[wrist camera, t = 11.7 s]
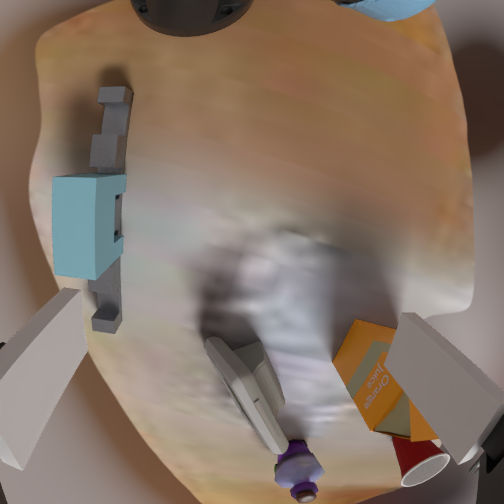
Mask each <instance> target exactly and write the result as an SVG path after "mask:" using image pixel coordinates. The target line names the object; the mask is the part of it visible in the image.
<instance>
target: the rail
mask: <svg viewBox="0 0 504 504" xmlns="http://www.w3.org/2000/svg"><path fill="white" fill-rule="evenodd" d="M133 96H134V93H133V92H132V91H131V90H129V89H128V88H127V87H126V86H116V87H100V89H99V94H98V100H97V103H99V104H101V105H103V106H105V109H104V116H103V123H102V131H101V134H93V135H92V143H91V153H90V164H89V167H98V170H97V173H110V174H124V165H125V155H126V146H127V137H128V129H129V122H130V115H131V108H132V102H133ZM121 208H122V193H121V194H118V195H115V216H114V235H119V236H121ZM88 285H89V291H90V292H97V304H98V310H97V311H96V312H95V314H94V315H93V316H92V318H91V320H92V329H93V331H99V332H105V333H112V334H115V333H116V331H117V329H118V327H119V326H120V324H121V322H122V307H121V279H120V256H119V257H118V258H117V259H116V260H115V261H114V262H113V263H112V264H111V265H110V266H109V267H108V268H107V269H106V270H105V271H104V272H103V273H102V275H101V276H100V277H99V278H98V279H97V280H90V279H88Z"/></svg>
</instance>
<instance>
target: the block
mask: <svg viewBox="0 0 504 504" xmlns="http://www.w3.org/2000/svg"><path fill="white" fill-rule="evenodd" d="M126 175H127V174H110V173H85V174H75V175H66V176H58V177H53V187H52V238H53V258H54V271H55V275H60V276H67V277H74V278H82V279H90V280H97V279H98V278H99V277H100V276H101V275H102V273H103V272H104V271H105V270H106V269H107V268H108V267H109V266H110V265H111V264H112V263H113V262H114V261H115V260H116V259H117V258H118V257H119V256H120V255H121V254H122V253H123V236H119V235H114V216H115V195H118V194H121V193H124V192H125V189H126Z"/></svg>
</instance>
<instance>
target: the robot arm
mask: <svg viewBox="0 0 504 504" xmlns="http://www.w3.org/2000/svg"><path fill="white" fill-rule="evenodd" d="M332 1H334V2H335V3H336V4H337V5H339V6H342V7H347V8H351V9H354V10H356V11H358V12H361V13H363V14H365V15H367V16H369V17H371V18H374V19H377V20H380V21H396V20H403V19H406V18H409V17H411V16H413V15H416V14H418V13H419V12H421V11H423V10H424V9H426V8H427V7H429V6H430V5H432V4H433V3H434V2H435V1H436V0H332ZM252 2H253V0H131V3H132V6H133V8H134V10H135V12H136V14H137V16H138V17H139V19H140V20H141V21H142V22H143V23H144V24H145V25H146V26H148V27H149V28H151V29H153V30H155V31H157V32H159V33H162V34H166V35H171V36H179V37H191V36H200V35H205V34H209V33H213V32H216V31H218V30H221V29H223V28H225V27H227V26H229V25H231V24H233V23H234V22H236V21H237V20H238V19H240V18H241V17H242V16H243V15H244V14H245V13H246V12H247V10H248V9H249V8H250V6H251V4H252ZM87 351H88V348H87V341H86V334H85V327H84V319H83V310H82V300H81V290H78V289H71V288H65V287H64V288H63V289H62V290H61V291H60V292H58V293H57V294H56V295H55V296H54V297H53V298H52V299H51V300H50V301H49V302H48V303H47V304H46V305H45V306H44V307H42V308H41V309H40V310H39V311H38V312H37V313H36V314H35V315H34V316H33V317H32V318H31V319H30V320H29V321H28V322H27V323H26V324H25V325H24V326H23V327H22V328H21V329H20V330H19V331H18V332H17V333H16V334H15V335H14V336H13V337H12V338H11V339H10V340H9V341H8V342H7V343H4V342H2V343H0V458H1V460H2V461H3V462H4V463H7V464H9V465H11V466H13V467H15V468H18V469H20V470H22V471H24V468H25V466H26V464H27V462H28V460H29V458H30V456H31V454H32V451H33V449H34V447H35V445H36V443H37V441H38V439H39V437H40V435H41V433H42V431H43V429H44V427H45V425H46V423H47V421H48V420H49V418H50V416H51V414H52V412H53V410H54V408H55V406H56V404H57V403H58V401H59V399H60V397H61V395H62V394H63V392H64V390H65V388H66V386H67V385H68V383H69V381H70V379H71V378H72V376H73V374H74V373H75V371H76V369H77V367H78V366H79V364H80V362H81V361H82V359H83V357H84V356H85V354H86V352H87ZM384 366H385V367H386V368H387V370H388V371H389V372H390V374H391V375H392V376H393V378H394V379H395V380H396V381H397V383H398V384H399V385H400V387H401V388H402V389H403V391H404V392H405V393H406V395H407V396H408V397H409V399H410V400H411V401H412V403H413V404H414V405H415V406H416V408H417V409H418V410H419V412H420V413H421V415H422V416H423V417H424V419H425V420H426V421H427V423H428V424H429V425H430V427H431V428H432V429H433V431H434V432H435V433H436V435H437V436H438V438H439V439H440V440H441V442H442V443H443V444H444V446H445V447H446V449H447V450H448V451H449V453H450V454H451V456H452V457H453V458H454V460H455V461H456V462H457V464H458V465H459V464H461V463H463V462H466V461H468V460H470V459H472V458H473V456H474V455H475V454H476V453H477V451H478V450H479V449H480V447H482V448H483V449H484V450H485V451H484V452H483V454H482V455H481V456H480V457H479V459H478V460H477V461H476V462H475V464H474V465H473V466H472V467H471V469H470V471H469V473H472V472H473V471H474V469H475V468H476V467H479V468H478V470H477V471H476V472H475V474H476V475H479V480H478V491H477V500H476V504H504V391H503V390H502V389H501V388H500V387H499V386H498V385H497V384H496V383H495V382H494V381H493V380H492V379H490V378H489V377H488V376H487V375H486V374H485V373H484V372H483V371H482V370H481V369H480V368H478V367H477V366H476V365H475V364H474V363H473V362H472V361H471V360H469V359H468V358H467V357H466V356H465V355H464V354H463V353H462V352H461V351H459V350H458V349H457V348H456V347H455V346H454V345H452V344H451V343H450V342H449V341H448V340H447V339H445V338H444V337H443V336H442V335H441V334H440V333H439V332H437V331H436V330H435V329H434V328H432V326H430V325H429V324H428V323H427V322H425V321H424V320H423V319H422V318H421V317H420V316H418V315H417V314H416V313H402V314H401V317H400V320H399V323H398V326H397V329H396V332H395V335H394V338H393V341H392V344H391V347H390V349H389V352H388V355H387V358H386V360H385V363H384ZM0 504H7V501H6V498H5V495H4V492H3V489H2V486H1V483H0Z"/></svg>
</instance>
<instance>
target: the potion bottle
mask: <svg viewBox="0 0 504 504" xmlns="http://www.w3.org/2000/svg"><path fill="white" fill-rule="evenodd" d="M288 443H289V445H288V448H287V450H286V452H285V453H283V454H278V464H275V467H274V471H275V481H276V482H277V483H278V484H279V485H280V486H281V487H283V488H291V490H290V492H291V496H292V497H293V498H294V499H296V500H297V501H298V502H299V503H307V502H310V501H313V500H314V499H315V498H316V493H317V492H318V488H317V485H316V484H315V483H314V482H316V481H317V480H318V479H319V478H320V477H321V476H322V475H323V474H324V473H325V471H324V469H323V468H322V466H321V465H320V463H319V462H318V460H317V459H316V457H315V456H314V454H313V453H311V452H310V451H309V449H308V448H307V444H306V443H305V441H304V440H295V439H293V440H290V441H288Z"/></svg>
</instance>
